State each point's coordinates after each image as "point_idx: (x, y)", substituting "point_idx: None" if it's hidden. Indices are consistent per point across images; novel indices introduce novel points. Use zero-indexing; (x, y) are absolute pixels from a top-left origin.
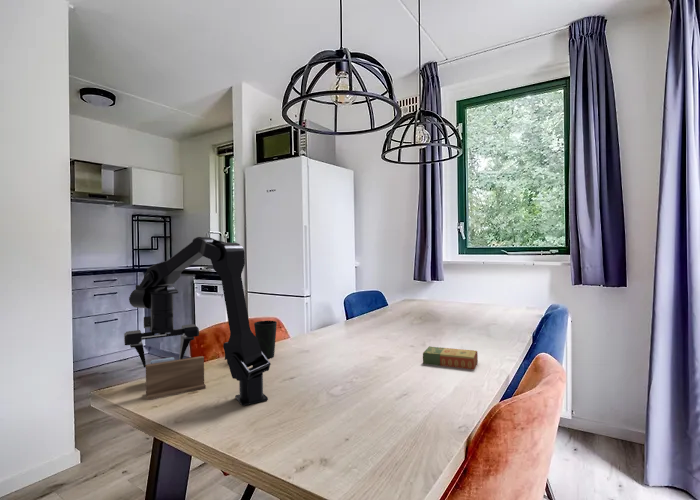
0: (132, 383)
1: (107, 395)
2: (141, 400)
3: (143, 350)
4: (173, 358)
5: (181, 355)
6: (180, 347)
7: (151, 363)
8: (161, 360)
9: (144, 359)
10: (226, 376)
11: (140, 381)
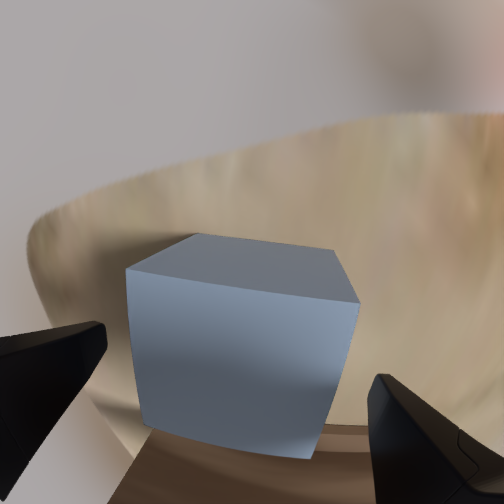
0: (115, 202)
1: (50, 299)
2: (151, 431)
3: (25, 465)
4: (342, 352)
5: (378, 455)
6: (421, 470)
7: (133, 352)
8: (217, 341)
9: (67, 401)
10: (486, 399)
11: (150, 193)
